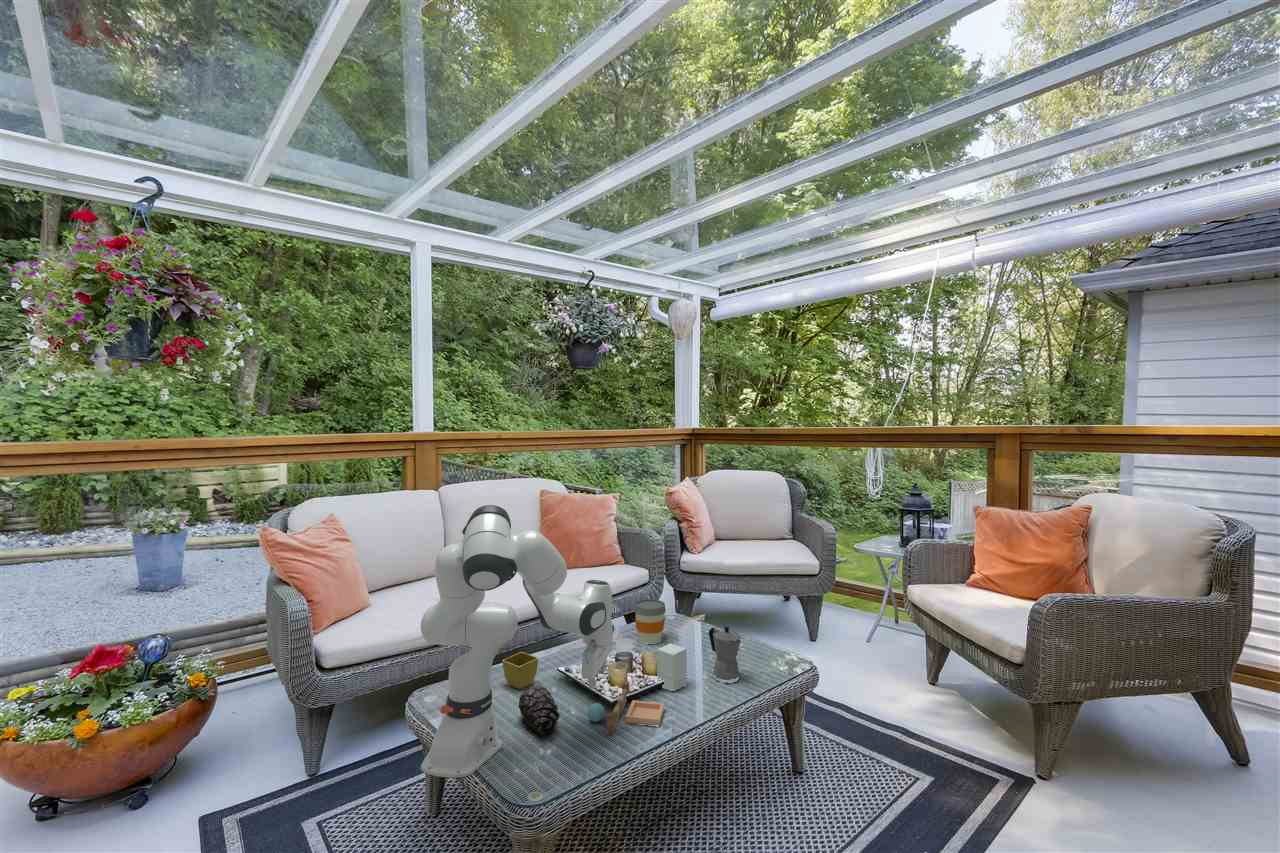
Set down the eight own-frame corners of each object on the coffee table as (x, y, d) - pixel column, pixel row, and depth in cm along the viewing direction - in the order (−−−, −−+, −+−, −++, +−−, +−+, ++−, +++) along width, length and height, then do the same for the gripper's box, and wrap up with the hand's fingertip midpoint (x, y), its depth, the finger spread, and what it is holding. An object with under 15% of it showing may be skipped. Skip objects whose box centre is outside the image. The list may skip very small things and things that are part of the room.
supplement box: (687, 685, 199) (687, 648, 199) (673, 693, 194) (673, 655, 194) (670, 678, 204) (670, 642, 204) (656, 685, 199) (656, 648, 199)
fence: (613, 735, 168) (613, 716, 168) (607, 734, 169) (607, 715, 168) (629, 699, 190) (629, 681, 189) (623, 698, 190) (623, 681, 190)
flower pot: (518, 694, 193) (519, 666, 192) (501, 686, 198) (501, 659, 198) (538, 684, 200) (539, 657, 199) (521, 677, 205) (521, 651, 205)
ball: (602, 725, 173) (602, 709, 173) (585, 724, 174) (585, 707, 174) (606, 717, 178) (606, 700, 178) (590, 715, 179) (590, 699, 179)
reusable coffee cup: (631, 645, 233) (631, 608, 233) (637, 634, 245) (637, 598, 245) (663, 648, 231) (663, 610, 231) (667, 636, 243) (667, 600, 243)
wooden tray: (659, 727, 173) (659, 720, 173) (625, 723, 175) (625, 716, 175) (664, 710, 182) (664, 703, 182) (632, 707, 184) (632, 700, 184)
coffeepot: (749, 682, 202) (750, 629, 202) (730, 689, 197) (730, 635, 196) (718, 666, 215) (719, 617, 214) (699, 672, 209) (699, 622, 209)
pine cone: (538, 745, 163) (538, 709, 163) (512, 717, 178) (512, 684, 178) (571, 734, 169) (571, 699, 169) (544, 708, 184) (544, 676, 184)
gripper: (597, 649, 164) (597, 698, 165) (616, 622, 184) (615, 666, 185) (576, 647, 166) (576, 695, 166) (596, 621, 186) (596, 664, 186)
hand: (597, 680), depth 176 cm, fingers open, 8 cm apart
